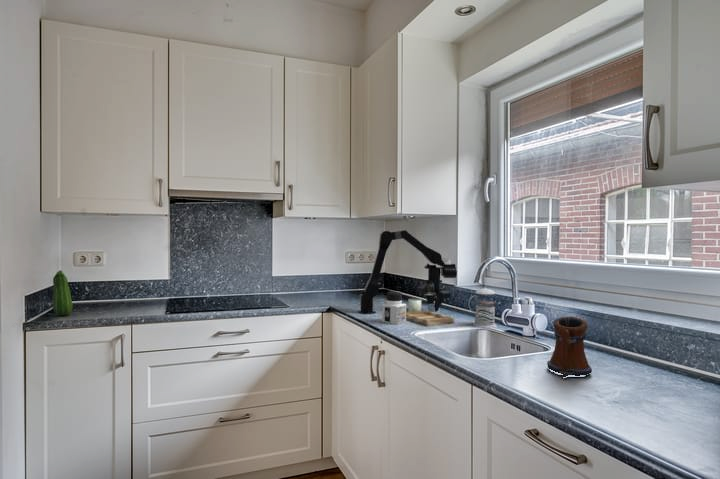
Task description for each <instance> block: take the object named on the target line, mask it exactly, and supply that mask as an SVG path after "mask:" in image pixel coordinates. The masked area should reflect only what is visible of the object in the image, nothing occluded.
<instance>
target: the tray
mask: <svg viewBox="0 0 720 479" xmlns="http://www.w3.org/2000/svg"><path fill="white" fill-rule="evenodd" d="M406 321H410V322H413V323H417V324H418V325H419V324H420V325H422V326H426V327H431V326H440V325H441V326H442V325H449V324H450V325H451V324H455V318H454V317H452V316H448V315H444V314H442V313H434V312H430V311H428V310H427V309H426V310H425V309H423V310H421V311H413V312H408V311H406Z"/></svg>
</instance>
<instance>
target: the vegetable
mask: <svg viewBox="0 0 720 479" xmlns="http://www.w3.org/2000/svg"><path fill="white" fill-rule="evenodd" d="M68 282H69V281H68V278H67V276H66V275H65V273H64V272H63V270H58V271H56V274H55V275H54V276H53V278H52V284H53V295H52V296H53V298H52V307H53V308H52V310H53V313H54V314H55V315H56V316H58V317H67V316H69V315H71V313H72V311H73V307H74V306H73V300H72V296H71V291H70V287H69V283H68Z"/></svg>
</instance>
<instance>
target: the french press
mask: <svg viewBox="0 0 720 479" xmlns="http://www.w3.org/2000/svg"><path fill="white" fill-rule="evenodd" d="M487 269H489V266H488V267H487V268H486V269H485V268H484V270H485V276H484V277H485V279H484V280H485V281H484V283H485V284H484V288H480V289H478V290H475V294H474V295H472V296H471V297H470V298H469V300H468V303H470V302H471V300H472V299H473V298H475V299H476V300H477V294H478V295H483V296H484V298H486V296H487V295H488V296H494V295H495V294H496V292H495V291H494V290H492V289H489V288H487V286H486V285H487V284H486V283H487V277H486V276H487ZM476 303H477V304H475V311H474V310H473V309H471V307H470V305H468V307H469V311H470V312H472V313H473V314H474V322H473V324H472V325H473V327H478V328H485V329H491V328H492V329H493V328H497V327H498V326H497V324H496V323H495V318H496V317H495V311H496V310H495V305H494V304H495V302H494V301H490V300H477V301H476Z"/></svg>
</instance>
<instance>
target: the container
mask: <svg viewBox="0 0 720 479" xmlns="http://www.w3.org/2000/svg"><path fill="white" fill-rule="evenodd" d="M402 302H403V293H402V292H401V291H396V290H394V291H388V292H386V303H383V304H381V322H382V323H384V322H385V324H390V323H391V325H399V324H403V323H406V322H407V319H406V312H407V304H406V303H402Z"/></svg>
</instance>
